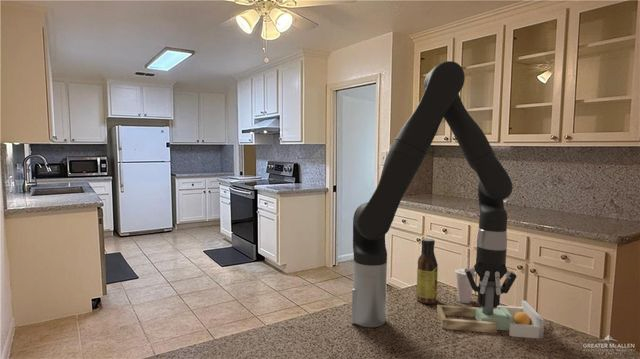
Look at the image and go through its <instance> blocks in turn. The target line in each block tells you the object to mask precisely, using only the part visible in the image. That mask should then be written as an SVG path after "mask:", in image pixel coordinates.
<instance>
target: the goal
mask: <svg viewBox="0 0 640 359" xmlns="http://www.w3.org/2000/svg"><path fill="white" fill-rule="evenodd" d="M501 307H503V308H506V309H507V310H508V311H509V313H510V314H511V315H512V316H513V318H514V316H515V314H516V313H518V312H524V313H526V314H527V315H528V316H529V318H530V324H529V325H524V324H516V323H513V324H511V323H510V327H509V330H508V334H509V337H516V338H527V339H528V338H529V339H544V331H545V319H544V318H542V316H541V315H540V313H538V312H537V311H536V310H535V309H534V308H533V307H532V305H530V303H528V302H527V300H521V306H512V305H511V306H510V305H499V306H497V308H495V309H501Z"/></svg>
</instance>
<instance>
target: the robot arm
mask: <svg viewBox="0 0 640 359" xmlns="http://www.w3.org/2000/svg"><path fill="white" fill-rule="evenodd" d="M465 79H466V78H465V72H464V69H463V67H462V66H461V65H460V64H459V63H458V62H455V61H452V60H450V61H444V62H441V63H439V64H437V65H436V66H434V67H433V68H432V69H431V70H430V71H428V73H427V74H426V76H425V78H424V80H423V88H424V92H423V94H422V96H421V99H420V100H419V103H418V104H417V106H416V108H415V109H414V111H413V112H412V114H411V115H410V116H409V117H408V118H407V120H406V122H405V123H404V125H403V126H402V127H401V128H400V130H399V131H398V133H397V135H396V137H395V139H394V140H393V142H392V144H391V147H390V148H389V151H388V152H387V155H386V157H385V160H384V163H383V166H382V170H381V174H380V178H379V181H378V184H377V186H376V188H375V190H374V192H373V193H372V194H371V197H370V199H369V200H368V202H364V203H362V204H361V203H360V205H359V206H358V207H356V209H355V211H354V214H353V217H352V220H353V221H352V251H353V268H352V270H353V271H352V273H353V276H352V290H351V291H352V294H351V324H352V325H353V324H354V325H357V326H360V327H363V328H378V327H381V326H383V325H384V324H385V323H386V308H387V307H386V304H387V303H386V300H387V275H388V274H387V271H388V269H387V267H388V250H387V246H386V234H387V233H388V232H389V230H390V228H391V226H392V224H393V221H394V218H395V216H396V213H397V210H398V208H399V205H400V203H401V201H402V199H403V197H404V195H405V194H406V192H407V190H408V189H409V187H410V185H411V183H412V182H413V179H414V178H415V176H416V174H417V173H418V170H419V169H420V168H421V165H422V164H423V161H424V160H425V158H426V156H427V154H428V152H429V149H430V147H431V145H432V143H433V141H434V139H435V136H436V135H437V132H438V130H439V129H440V128H439V127H440V125H441V123H442V121H443V118H444V120H445V122H446V123H447V125H448V127H449V129H450V130H451V132H452V134H453V136H454V138H455V139H456V141H457V144H458V146H459V148H460V150H461V151H462V152H461V153H462V154H463V156H464V158H465V160H466V161H467V163H468V165H469V167H470V168H471V170H473V171H474V172H475V174H476V175H477V176H478V178H479V181H478V186H477V196H478V197H477V198H478V206H479V217H478V218H479V220H478V232H477V236H476V237H477V238H476V257H475V264H474V266H473V267H471V268H468V269H469V270H468V269H467V268H464V269H465V273H466V276H467V278H468V280H469V283H470V285H471V287H472V291H473V292H476V293H477V303H478V305H479V306H480V308H483V307H484V301H485V294H484V292H485V288H486V286H487V282H488V281H495V283H496V286H495V292H494V309H496V308H497V306H500V304H501V303H500V302H501V301H500V300H501V295H502V294H508V293H509V291H510V289H511V287H512V286H513V284H514V282H515V280H516V279H517V274H516V273H515V272H513V271H510V270H508V268H507V266H506V264H507V251H508V250H507V249H508V248H507V247H508V234H507V232H508V231H507V230H508V229H507V228H508V212H507V210H506V209H505V207H504V203H505V202H504V200H506V199H507V198H509V197H510V196H511V194H512V192H513V182H512V180H511V177H510V175H509V173H508V172H507V171H506V169H505V168H504V166H503V165H502V163H501V162H500V161H499V160H498V158H497V156H496V154H495V152H494V150H493V147H492V146H491V144H490V142H489V140H488V138H487V136H486V135H485V132H483V131H484V130H482V129H481V127H480V126H479V125H478V123H477V122H476V121H475V120H474V118H473V117H472V116H471V115H470V113H469V112H468V110H467V109H466V107H465V105H464V104H463V101H462V99H461V96H460V92H461V90H462V89H463V88H464V84H465ZM475 272H476V275H477V276H478V277H479V279H478V284H476V282H475V279H473V277H474V273H475ZM504 276H505V280H503V283H502V284H501V279H502V278H503V277H504Z"/></svg>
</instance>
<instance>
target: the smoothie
mask: <svg viewBox="0 0 640 359" xmlns="http://www.w3.org/2000/svg"><path fill="white" fill-rule="evenodd" d="M469 262H470V258H469V257H467V258H466V268H456V269H455V270H454V274H455V280H456V281H455V282H456V293H457V301H458V302H459V303H462V304H470V303H471V299H472V294H473V289H472V287H471V285H470V283H469V280H468V278H467V276H466V273H465V269H468V270H469V269H470V268H469ZM476 277H477V273H476V272H475V273H474V277H473V279H474V280H475V278H476Z"/></svg>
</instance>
